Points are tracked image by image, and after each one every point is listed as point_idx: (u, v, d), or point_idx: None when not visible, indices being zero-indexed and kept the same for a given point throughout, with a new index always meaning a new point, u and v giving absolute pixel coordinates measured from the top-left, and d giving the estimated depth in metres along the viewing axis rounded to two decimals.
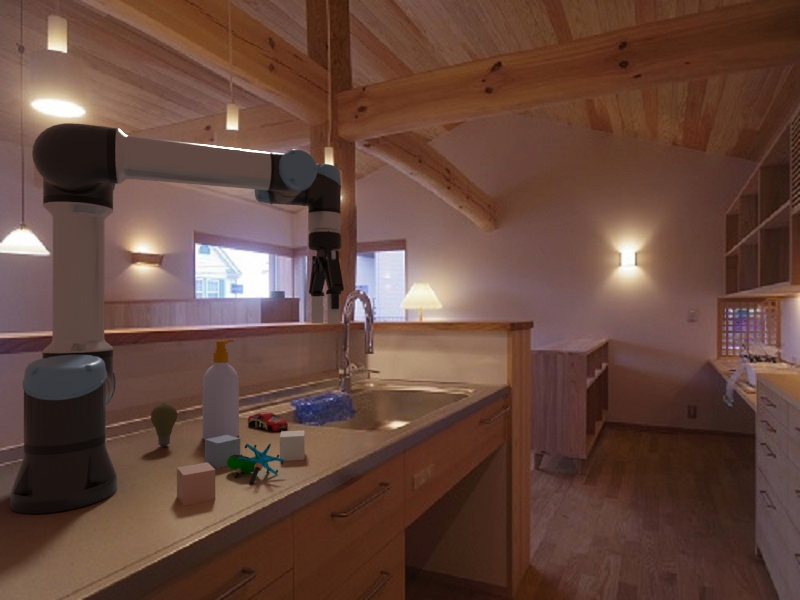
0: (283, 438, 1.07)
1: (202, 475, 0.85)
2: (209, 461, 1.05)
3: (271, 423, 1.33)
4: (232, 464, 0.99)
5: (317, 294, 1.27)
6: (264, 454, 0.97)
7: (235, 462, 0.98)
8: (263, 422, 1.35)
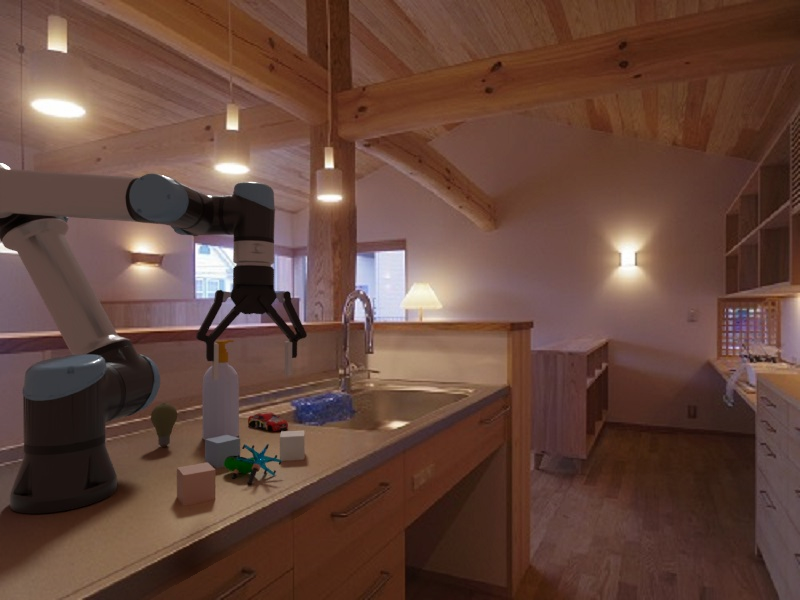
0: (283, 438, 1.07)
1: (202, 475, 0.85)
2: (209, 461, 1.05)
3: (271, 423, 1.33)
4: (229, 465, 0.99)
5: (290, 339, 1.01)
6: (262, 455, 0.97)
7: (232, 463, 0.98)
8: (263, 422, 1.35)
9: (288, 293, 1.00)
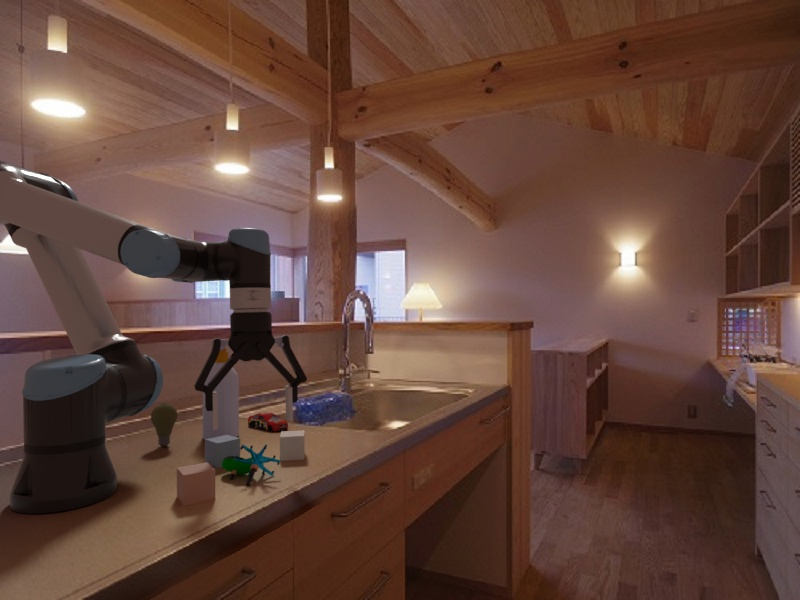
0: (283, 438, 1.07)
1: (202, 475, 0.85)
2: (209, 461, 1.05)
3: (271, 423, 1.33)
4: (227, 465, 0.98)
5: (290, 383, 1.00)
6: (260, 455, 0.97)
7: (230, 463, 0.97)
8: (263, 422, 1.35)
9: (286, 337, 0.99)
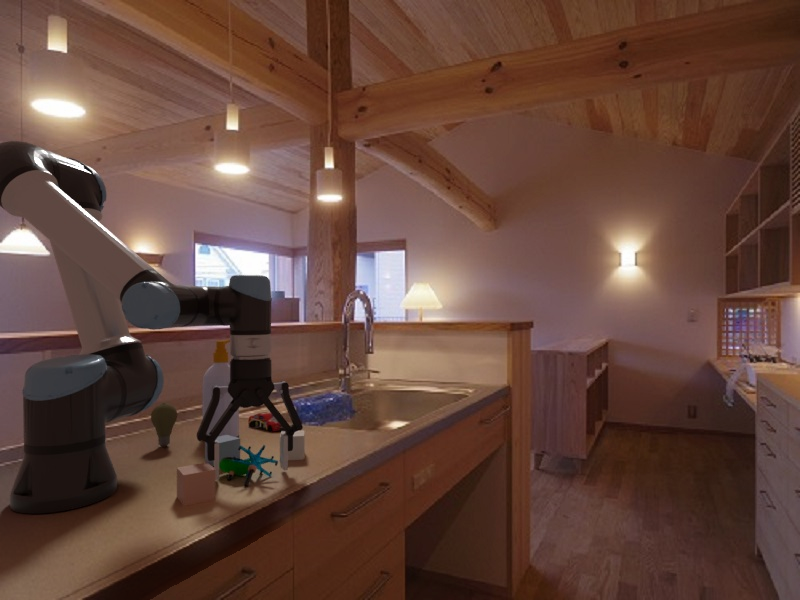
0: None
1: (202, 475, 0.85)
2: (209, 461, 1.05)
3: (271, 423, 1.33)
4: (224, 467, 0.98)
5: (286, 431, 1.00)
6: (258, 456, 0.96)
7: (228, 464, 0.97)
8: (263, 422, 1.35)
9: (286, 384, 0.99)
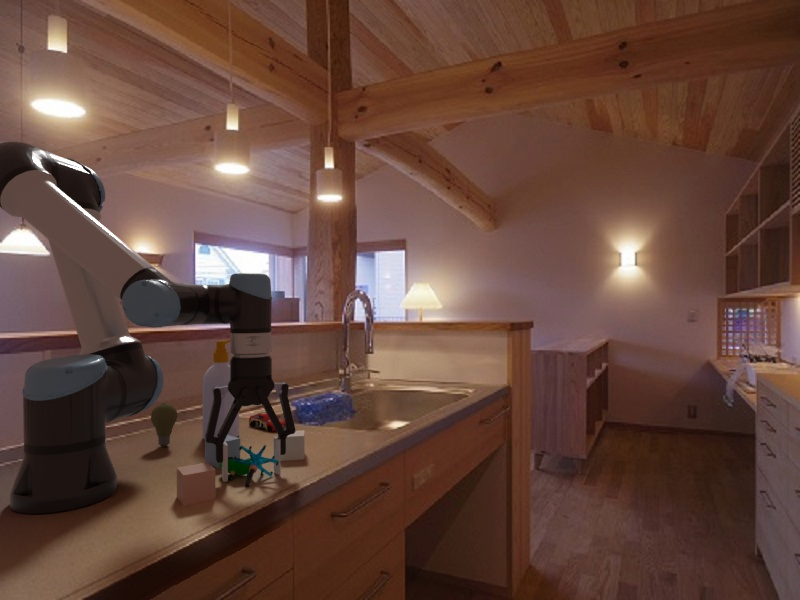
0: None
1: (202, 475, 0.85)
2: (209, 461, 1.05)
3: (270, 424, 1.33)
4: None
5: (278, 434, 0.99)
6: (259, 456, 0.96)
7: (228, 464, 0.96)
8: (263, 422, 1.35)
9: (286, 385, 0.99)
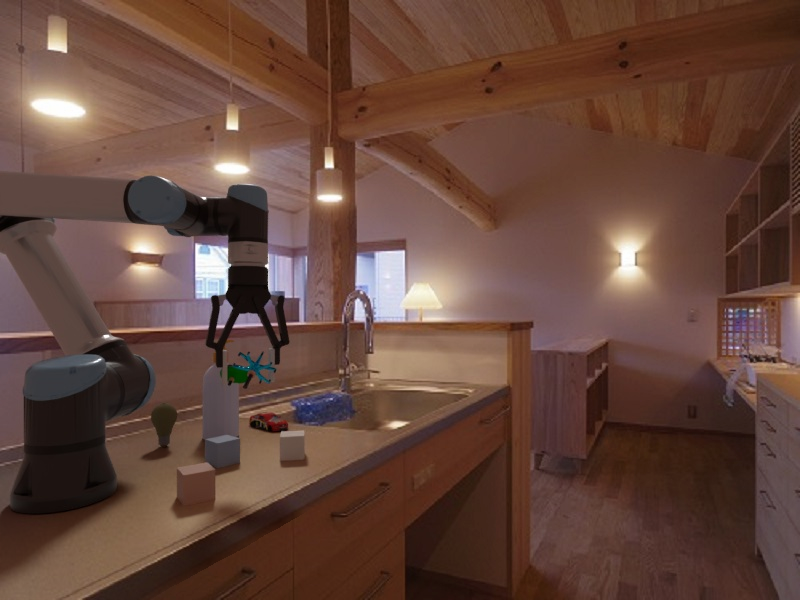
0: (283, 438, 1.07)
1: (202, 475, 0.85)
2: (209, 461, 1.05)
3: (271, 424, 1.33)
4: None
5: (273, 345, 1.02)
6: (257, 363, 0.99)
7: (228, 371, 1.00)
8: (263, 422, 1.35)
9: (282, 297, 1.02)
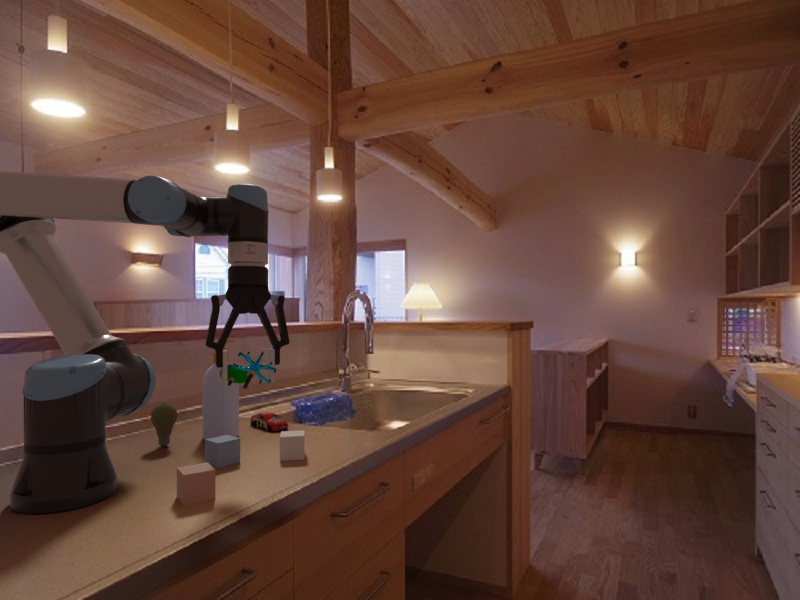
0: (283, 438, 1.07)
1: (202, 475, 0.85)
2: (209, 461, 1.05)
3: (270, 424, 1.33)
4: None
5: (273, 345, 1.02)
6: (257, 363, 0.99)
7: (228, 371, 1.00)
8: (263, 422, 1.35)
9: (282, 297, 1.02)
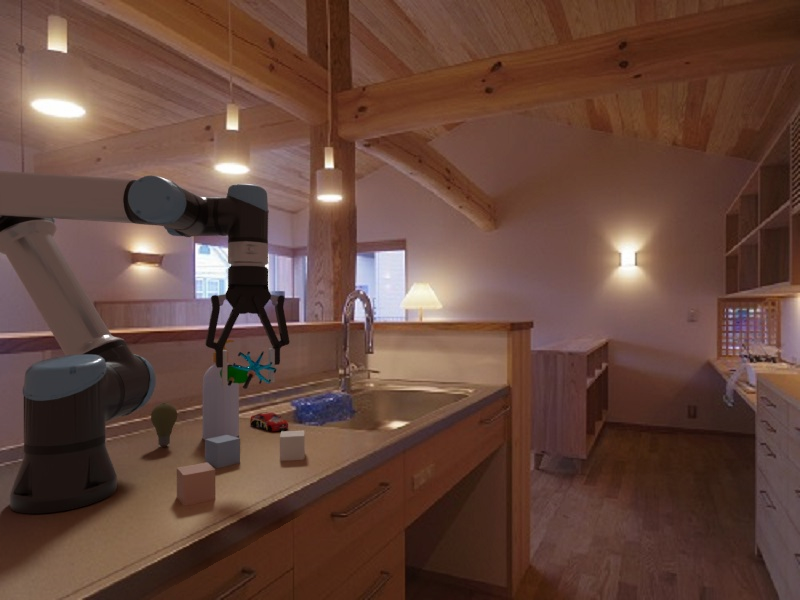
0: (283, 438, 1.07)
1: (202, 475, 0.85)
2: (209, 461, 1.05)
3: (270, 424, 1.33)
4: None
5: (273, 345, 1.02)
6: (257, 363, 0.99)
7: (228, 371, 1.00)
8: (264, 422, 1.35)
9: (282, 297, 1.02)
